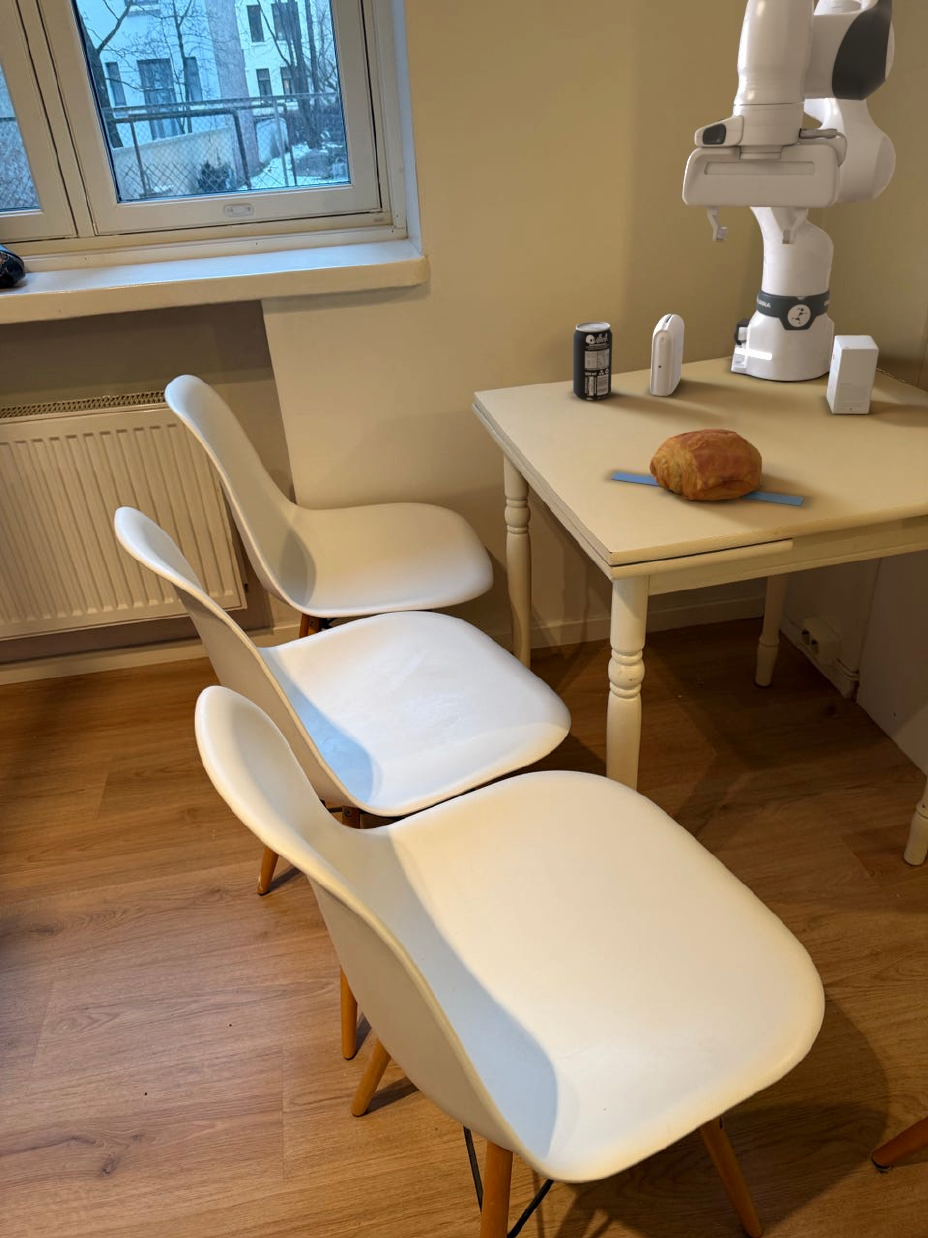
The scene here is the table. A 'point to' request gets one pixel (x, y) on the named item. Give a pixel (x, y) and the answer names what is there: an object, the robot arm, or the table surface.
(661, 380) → the photo printer
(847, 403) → the small box
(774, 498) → the tape line
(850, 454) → the table surface
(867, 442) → the table surface
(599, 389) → the beverage can
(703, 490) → the croissant
